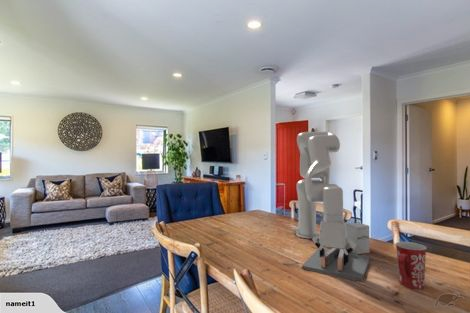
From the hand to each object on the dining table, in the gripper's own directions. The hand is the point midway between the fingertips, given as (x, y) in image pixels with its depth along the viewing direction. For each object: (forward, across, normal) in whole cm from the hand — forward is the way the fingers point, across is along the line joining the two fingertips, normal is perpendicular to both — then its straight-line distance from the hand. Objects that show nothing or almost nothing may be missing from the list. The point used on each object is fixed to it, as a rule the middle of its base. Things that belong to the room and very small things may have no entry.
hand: (333, 261), depth 107 cm
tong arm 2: (+2, +2, +5) cm, 5 cm away
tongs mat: (+3, 0, +6) cm, 7 cm away
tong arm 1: (+1, -2, +5) cm, 5 cm away
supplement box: (+3, +5, +26) cm, 27 cm away
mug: (+3, +25, -1) cm, 25 cm away
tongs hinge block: (+2, 0, +17) cm, 17 cm away
